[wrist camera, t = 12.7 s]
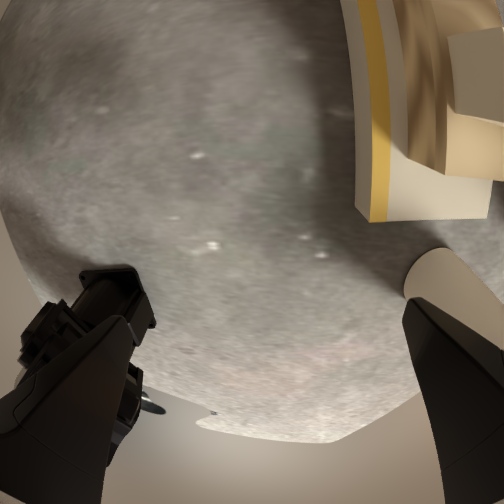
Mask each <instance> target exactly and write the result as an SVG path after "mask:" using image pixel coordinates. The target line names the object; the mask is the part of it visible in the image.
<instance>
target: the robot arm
mask: <svg viewBox="0 0 504 504" xmlns="http://www.w3.org/2000/svg"><path fill="white" fill-rule="evenodd" d="M131 274H133V276H132V275H131ZM79 279H80V281H81V283H82V285H83V288H84V291H83V292H82V293H81V294H80V296H79V297H78V298H77V300H76V301H75V302H74V304H73V305H72V306H71V308H69V307H68V306H67V305H66V304H67V303H66V302H65V301H64V300H63V299H61V300H60V301H59V303H58V304H56V303H51V302H49V301H47V303H46V304H45V305H44V306H43V308H42V309H41V310H40V312H39V313H38V314H37V315H36V316H35V318H34V319H33V320H32V321H31V323H30V324H29V325H28V327H27V328H26V329H25V331H24V332H23V333H22V335H21V343H22V348H21V349H20V351H21V354H20V356H19V358H18V359H17V361H18V362H19V363H20V364H21V365H22V366H23V368H22V370H21V371H20V373H19V375H18V376H17V378H16V380H15V385H14V390H12V391H11V392H9V393H8V394H7V395H5V396H4V397H2V398H1V399H0V504H101V497H102V490H103V481H104V476H105V470H106V467H108V466H109V465H110V462H111V461H112V458H113V456H114V454H115V452H116V450H117V448H118V446H119V444H120V443H121V441H122V440H123V438H124V437H125V436H126V435H127V434H128V433H129V432H130V431H131V429H132V427H133V426H134V424H135V423H136V421H137V419H138V417H139V413H140V409H141V396H142V382H143V371H142V370H141V369H140V368H139V367H136V366H134V365H133V364H132V363H131V362H129V361H130V359H131V356H132V354H133V351H134V349H135V347H139V346H140V344H141V342H142V340H143V338H144V335H145V333H146V331H147V329H153V328H155V326H156V324H157V323H156V320H155V318H154V313H153V310H152V308H151V305H150V303H149V300H148V297H147V295H146V293H145V291H144V289H143V286H142V284H141V281H140V278H139V275H138V273H137V271H136V270H135V269H132V268H130V269H112V270H94V271H82V272H81V273H80V274H79ZM402 325H403V329H404V332H405V336H406V340H407V344H408V348H409V352H410V356H411V360H412V364H413V367H414V371H415V373H416V376H417V380H418V383H419V386H420V389H421V392H422V395H423V399H424V402H425V405H426V409H427V412H428V416H429V420H430V423H431V428H432V432H433V436H434V439H435V445H436V449H437V454H438V458H439V464H440V469H441V476H442V482H443V489H444V496H445V504H504V351H503V350H502V349H501V350H500V348H499V347H498V346H496V345H495V344H493V343H492V342H490V341H489V340H487V339H486V338H484V337H483V336H481V335H480V334H478V333H477V332H475V331H474V330H472V329H471V328H469V327H468V326H466V325H465V324H463V323H462V322H460V321H459V320H457V319H456V318H454V317H452V316H451V315H449V314H448V313H446V312H445V311H443V310H441V309H440V308H438V307H437V306H435V305H433V304H432V303H430V302H429V301H427V300H425V299H424V298H422V297H413V298H410V299H409V300H408V301H407V305H406V308H405V311H404V314H403V318H402Z"/></svg>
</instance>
